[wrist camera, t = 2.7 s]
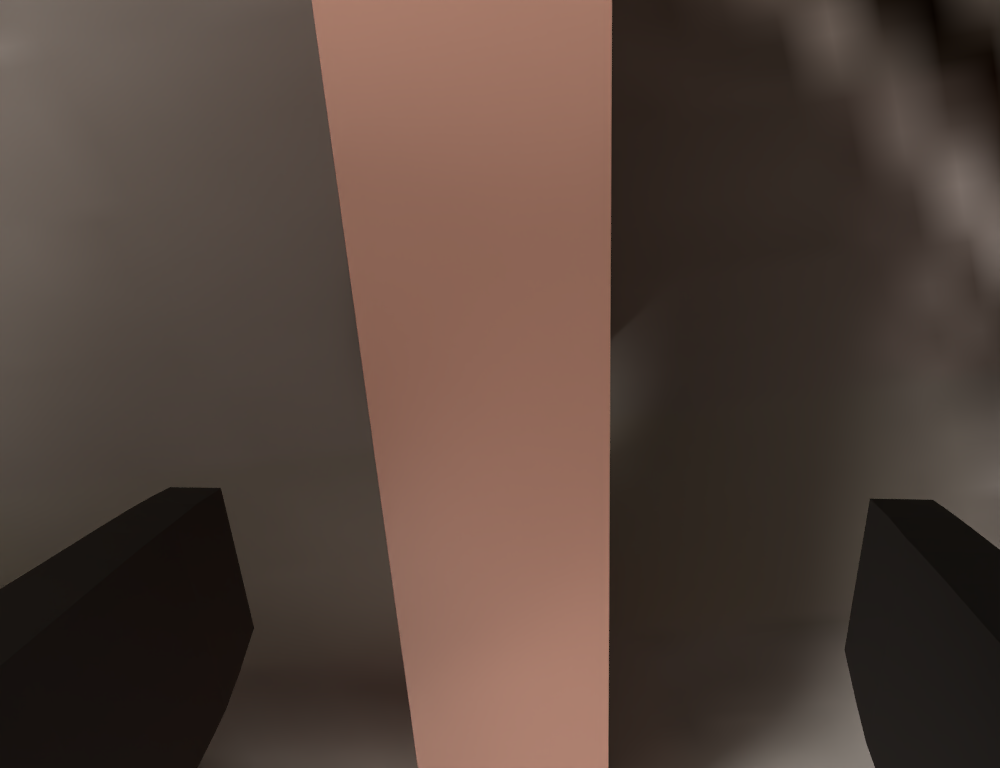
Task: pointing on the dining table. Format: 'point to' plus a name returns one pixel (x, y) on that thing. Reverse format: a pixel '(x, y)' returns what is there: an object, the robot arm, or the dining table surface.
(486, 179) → the pink notched tray
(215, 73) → the dining table surface
